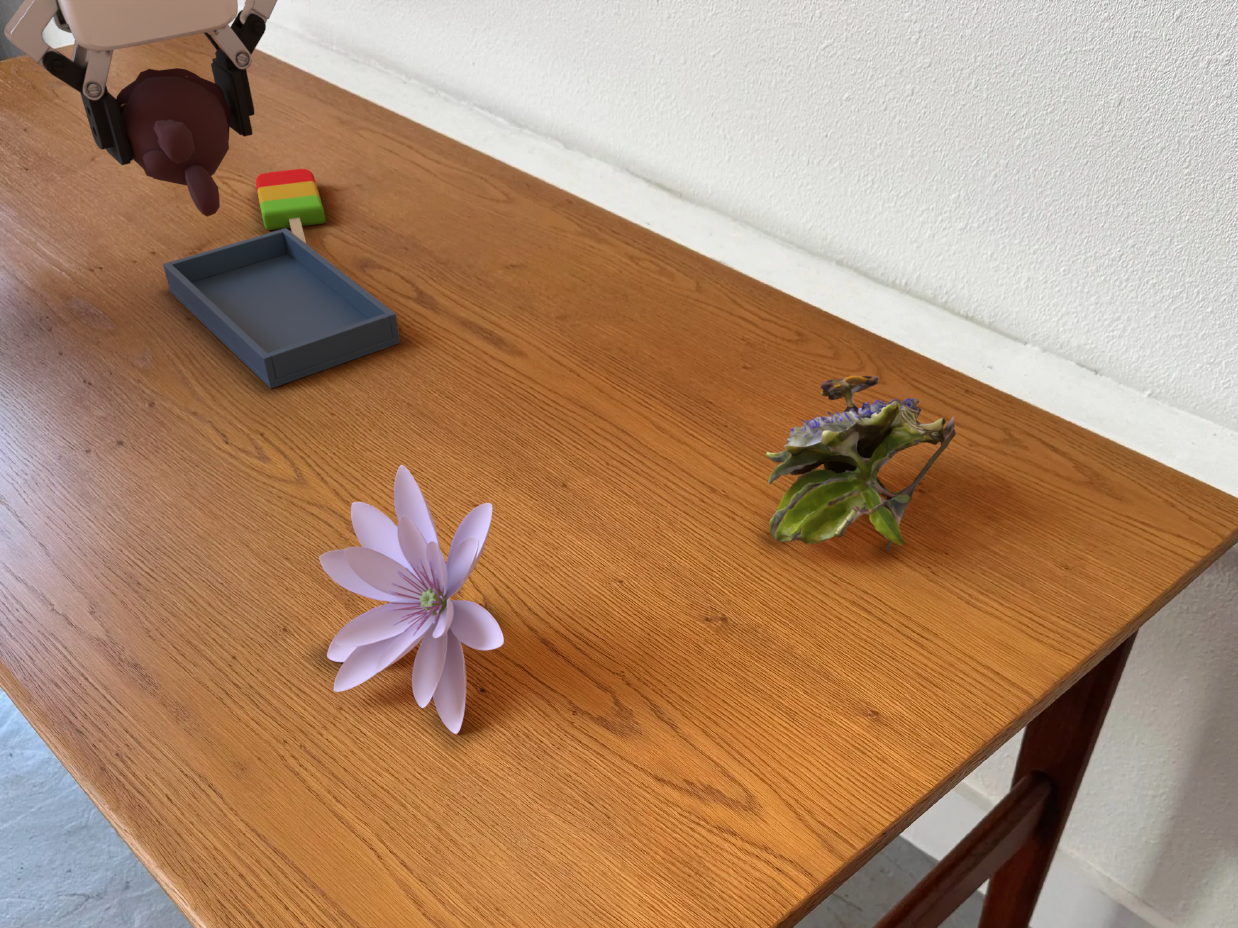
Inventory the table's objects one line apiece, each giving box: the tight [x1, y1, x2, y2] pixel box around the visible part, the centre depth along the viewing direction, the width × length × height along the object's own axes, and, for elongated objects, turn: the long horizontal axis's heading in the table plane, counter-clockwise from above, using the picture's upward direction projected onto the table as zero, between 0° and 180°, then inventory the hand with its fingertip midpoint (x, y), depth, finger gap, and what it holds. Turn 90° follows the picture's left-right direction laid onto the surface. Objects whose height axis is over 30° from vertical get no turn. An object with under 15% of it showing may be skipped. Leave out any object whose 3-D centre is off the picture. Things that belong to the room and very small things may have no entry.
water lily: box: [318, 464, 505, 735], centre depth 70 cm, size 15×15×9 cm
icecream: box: [115, 67, 231, 218], centre depth 77 cm, size 7×7×15 cm
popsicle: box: [255, 168, 326, 244], centre depth 113 cm, size 6×15×2 cm, turn 17°
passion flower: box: [765, 375, 957, 552], centre depth 79 cm, size 11×11×12 cm
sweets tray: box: [162, 228, 401, 389], centre depth 100 cm, size 11×19×3 cm, turn 38°
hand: (179, 141), depth 78 cm, fingers closed on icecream, 7 cm apart
